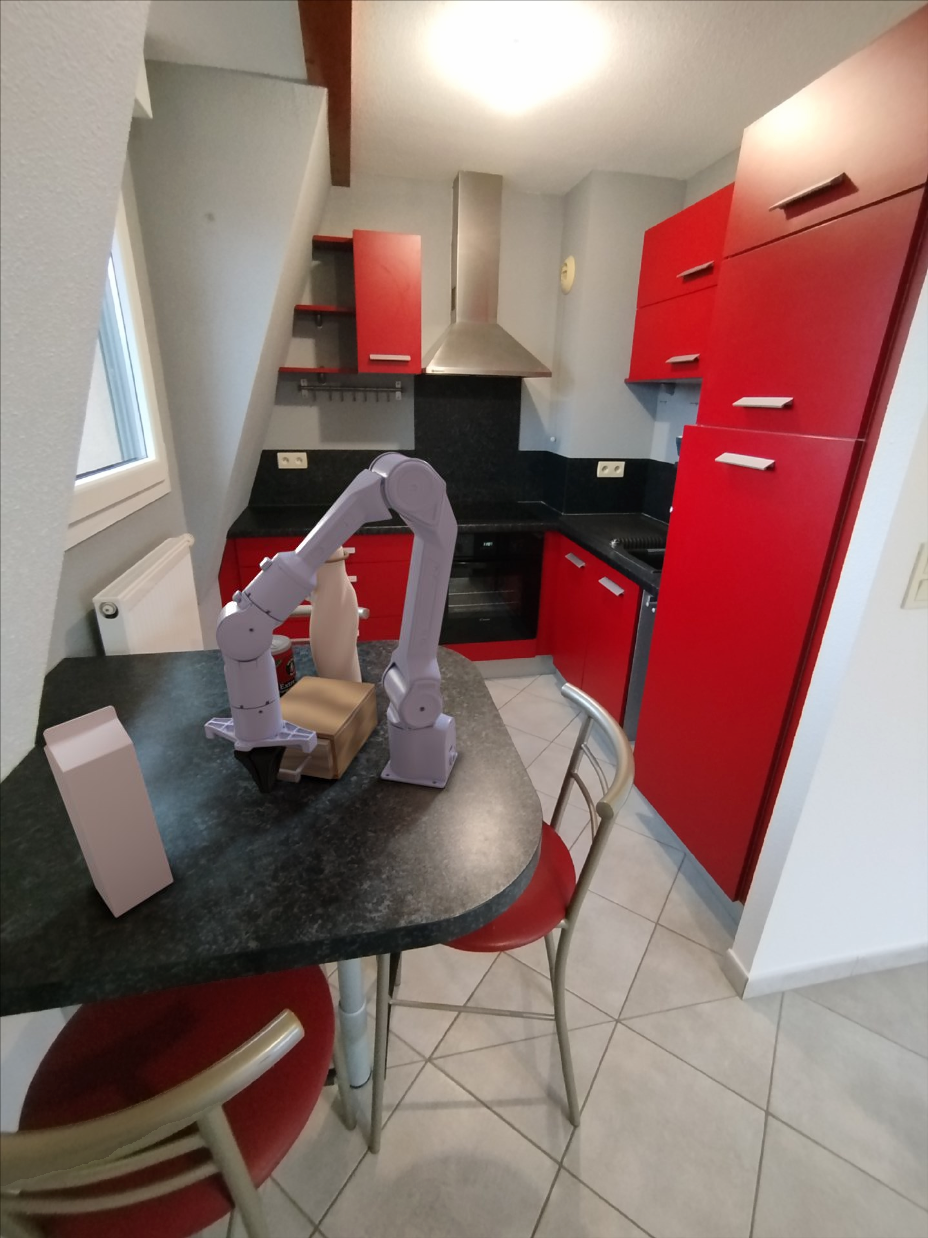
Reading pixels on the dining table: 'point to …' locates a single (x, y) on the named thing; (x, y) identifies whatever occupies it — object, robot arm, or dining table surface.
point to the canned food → (283, 663)
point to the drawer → (307, 762)
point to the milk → (108, 807)
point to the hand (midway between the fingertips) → (268, 788)
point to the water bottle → (334, 621)
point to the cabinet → (333, 714)
